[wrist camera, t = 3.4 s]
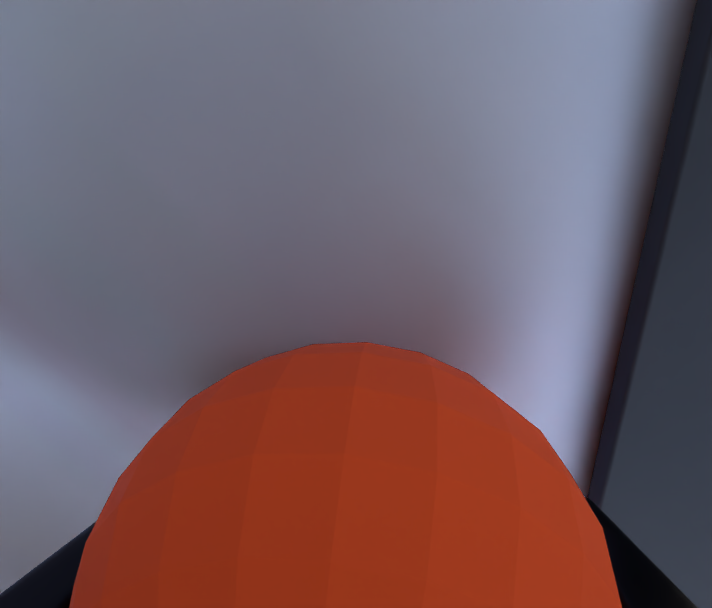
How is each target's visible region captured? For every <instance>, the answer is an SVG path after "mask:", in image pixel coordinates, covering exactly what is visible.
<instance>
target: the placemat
mask: <svg viewBox="0 0 712 608" xmlns="http://www.w3.org/2000/svg"><path fill="white" fill-rule="evenodd" d="M588 498H589V499H591V500H592V501H593V502H594V503H595V504H596V505H597V506H598V507H599V508H600V509H601V510H602V511H603V512H604V513H605V514H606V515H607V516H608V517H609V518H610V519H611V520H612V521H613V522H614V523H615V524H616V525H617V526H618V527H619V528H620V529H621V530H622V531H623V532H624V533H625V534H626V535H627V537H628V538H629V539H630V540H631V541H632V542H633V543H634V544H635V545H636V546H637V547H638V548H639V549H640V550H641V551H642V552H643V553H644V554H645V555H646V556H647V557H648V558H649V559H650V560H651V561H652V562H653V563H654V564H655V565H656V566H657V567H658V568H659V569H660V570H661V571H662V572H663V573H664V574H665V575H666V576H667V577H668V578H669V579H670V580H671V581H672V582H673V583H674V584H675V585H676V586H677V587H678V588H679V589H680V590H681V591H682V592H683V593H684V594H685V595H686V596H687V597H688V598H689V599H690V600H691V601H692V602H693V603H694V604H695V605H696V606H697V607H698V608H712V0H697V3H696V7H695V12H694V16H693V21H692V25H691V30H690V35H689V39H688V44H687V48H686V53H685V57H684V62H683V66H682V71H681V75H680V80H679V85H678V89H677V94H676V98H675V103H674V107H673V112H672V116H671V121H670V126H669V130H668V135H667V139H666V144H665V148H664V153H663V157H662V162H661V166H660V171H659V176H658V180H657V185H656V189H655V194H654V198H653V203H652V207H651V212H650V216H649V221H648V226H647V230H646V235H645V239H644V244H643V248H642V253H641V257H640V262H639V266H638V271H637V276H636V280H635V285H634V289H633V294H632V298H631V303H630V307H629V312H628V316H627V321H626V326H625V330H624V335H623V339H622V344H621V348H620V353H619V357H618V362H617V366H616V371H615V376H614V380H613V385H612V389H611V394H610V398H609V403H608V407H607V412H606V416H605V421H604V426H603V430H602V435H601V439H600V444H599V448H598V453H597V457H596V462H595V466H594V471H593V476H592V480H591V485H590V489H589V494H588Z"/></svg>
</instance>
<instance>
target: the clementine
mask: <svg viewBox="0 0 712 608" xmlns="http://www.w3.org/2000/svg"><path fill="white" fill-rule="evenodd" d="M69 608H622V605H621V601H620V597H619V593H618V589H617V585H616V581H615V576H614V572H613V568H612V564H611V560H610V556H609V552H608V548H607V544H606V539H605V535H604V531H603V527H602V526H601V524H600V522H599V521H598V519H597V517H596V516H595V514H594V512H593V511H592V509H591V507H590V506H589V504H588V502H587V501H586V499H585V497H584V495H583V494H582V492H581V490H580V489H579V487H578V485H577V484H576V482H575V480H574V479H573V477H572V475H571V474H570V472H569V471H568V469H567V468H566V466H565V465H564V464H563V462H562V461H561V459H560V458H559V456H558V455H557V454H556V452H555V451H554V449H553V448H552V446H551V445H550V443H549V442H548V441H547V439H546V438H545V436H544V435H543V433H542V432H541V431H540V430H539V429H538V428H537V427H535V426H534V425H533V424H532V423H530V422H529V421H528V420H527V419H525V418H524V417H523V416H522V415H520V414H519V413H518V412H516V411H515V410H514V409H513V408H511V407H510V406H509V405H508V404H506V403H505V402H504V401H502V400H501V399H500V398H499V397H497V396H496V395H495V394H494V393H492V392H491V391H490V390H489V389H487V388H486V387H485V386H483V385H482V384H481V383H480V382H478V381H477V380H476V379H475V378H473V377H472V376H471V375H469V374H468V373H465V372H463V371H461V370H459V369H456V368H454V367H452V366H450V365H447V364H445V363H443V362H441V361H438V360H436V359H434V358H432V357H429V356H427V355H425V354H423V353H420V352H415V351H410V350H405V349H400V348H395V347H389V346H384V345H379V344H374V343H368V342H357V343H331V344H312V345H308V346H305V347H301V348H298V349H294V350H291V351H287V352H284V353H280V354H277V355H273V356H270V357H266V358H264V359H262V360H259V361H257V362H255V363H252V364H250V365H248V366H246V367H243V368H241V369H239V370H236V371H234V372H233V373H231V374H229V375H228V376H226V377H224V378H223V379H221V380H220V381H218V382H216V383H215V384H213V385H211V386H210V387H208V388H207V389H205V390H203V391H202V392H200V393H198V394H197V395H195V396H194V397H192V398H190V399H189V400H188V401H187V402H186V403H185V404H184V405H183V406H182V407H181V408H180V409H179V410H178V411H177V412H176V413H175V414H174V415H173V416H172V417H171V418H170V419H169V420H168V422H167V423H166V424H165V425H164V426H163V427H162V428H161V429H160V430H159V431H158V432H157V433H156V434H155V435H154V436H153V437H152V438H151V439H150V440H149V442H148V443H147V444H146V445H145V447H144V448H143V449H142V450H141V451H140V453H139V454H138V455H137V456H136V457H135V459H134V460H133V461H132V462H131V464H130V465H129V466H128V467H127V468H126V470H125V471H124V472H123V473H122V475H121V476H120V477H119V478H118V480H117V482H116V484H115V486H114V488H113V490H112V492H111V494H110V496H109V498H108V500H107V502H106V504H105V506H104V508H103V510H102V512H101V514H100V516H99V518H98V519H97V521H96V523H95V525H94V527H93V529H92V531H91V533H90V535H89V537H88V539H87V541H86V543H85V547H84V550H83V554H82V557H81V561H80V565H79V568H78V572H77V575H76V579H75V583H74V586H73V591H72V596H71V601H70V606H69Z"/></svg>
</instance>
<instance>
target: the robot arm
mask: <svg viewBox="0 0 712 608" xmlns="http://www.w3.org/2000/svg"><path fill="white" fill-rule="evenodd" d="M585 499H586V501H587V502H588V504H589V506H590V507H591V509H592V511H593V512H594V514H595V516H596V517H597V519H598V521H599V522H600V524H601V526H602V527H603V531H604V535H605V539H606V544H607V548H608V552H609V556H610V560H611V564H612V568H613V572H614V576H615V581H616V585H617V589H618V593H619V597H620V601H621V605H622V608H698V607H697V606H696V605H695V604H694V603H693V602H692V601H691V600H690V599H689V598H688V597H687V596H686V595H685V594H684V593H683V592H682V591H681V590H680V589H679V588H678V587H677V586H676V585H675V584H674V583H673V582H672V581H671V580H670V579H669V578H668V577H667V576H666V575H665V574H664V573H663V572H662V571H661V570H660V569H659V568H658V567H657V566H656V565H655V564H654V563H653V562H652V561H651V560H650V559H649V558H648V557H647V556H646V555H645V554H644V553H643V552H642V551H641V550H640V549H639V548H638V547H637V546H636V545H635V544H634V543H633V542H632V541H631V540H630V539H629V538H628V537H627V535H626V534H625V533H624V532H623V531H622V530H621V529H620V528H619V527H618V526H617V525H616V524H615V523H614V522H613V521H612V520H611V519H610V518H609V517H608V516H607V515H606V514H605V513H604V512H603V511H602V510H601V509H600V508H599V507H598V506H597V505H596V504H595V503H594V502H593V501H592V500H591V499H589V498H587V497H585ZM95 523H96V522H95ZM95 523H93V524H92V525H91V526H89V527H88V528H87V529H85V530H84V531H83V532H81V533H80V534H79V535H78V536H76V537H75V538H74V539H72V540H71V541H70V542H68V543H67V544H66V545H64V546H63V547H62V548H60V549H59V550H58V551H56V552H55V553H54V554H52V555H51V556H50V557H48V558H47V559H46V560H45V561H43V562H42V563H41V564H39V565H38V566H37V567H35V568H34V569H33V570H31V571H30V572H29V573H27V574H26V575H25V576H23V577H22V578H21V579H19V580H18V581H17V582H16V583H14V584H13V585H12V586H10V587H9V588H8V589H6V590H5V591H4V592H2V593H1V594H0V608H69V606H70V601H71V596H72V591H73V586H74V583H75V579H76V575H77V572H78V568H79V565H80V561H81V557H82V554H83V550H84V547H85V543H86V541H87V539H88V537H89V535H90V533H91V531H92V529H93V527H94V525H95Z"/></svg>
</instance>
